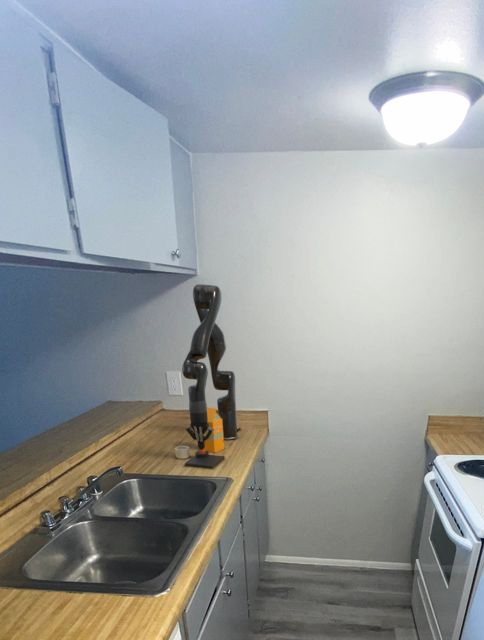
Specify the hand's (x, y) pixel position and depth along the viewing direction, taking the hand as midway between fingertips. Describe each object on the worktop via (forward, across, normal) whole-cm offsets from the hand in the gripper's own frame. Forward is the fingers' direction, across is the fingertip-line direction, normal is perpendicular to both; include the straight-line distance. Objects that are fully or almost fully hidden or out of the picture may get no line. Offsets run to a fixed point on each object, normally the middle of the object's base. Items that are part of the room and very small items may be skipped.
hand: (201, 448), depth 213 cm
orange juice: (+5, +2, -15) cm, 15 cm away
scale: (+5, -3, +4) cm, 7 cm away
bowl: (+5, +10, 0) cm, 11 cm away
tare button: (+2, 0, 0) cm, 2 cm away
